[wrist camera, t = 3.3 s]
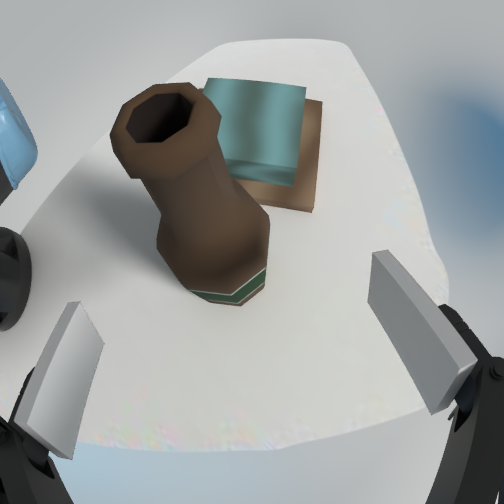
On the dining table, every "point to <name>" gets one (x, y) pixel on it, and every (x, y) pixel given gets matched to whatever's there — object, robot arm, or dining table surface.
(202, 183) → the beer bottle
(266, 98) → the display base
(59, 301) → the dining table surface
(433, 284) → the dining table surface
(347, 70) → the dining table surface
